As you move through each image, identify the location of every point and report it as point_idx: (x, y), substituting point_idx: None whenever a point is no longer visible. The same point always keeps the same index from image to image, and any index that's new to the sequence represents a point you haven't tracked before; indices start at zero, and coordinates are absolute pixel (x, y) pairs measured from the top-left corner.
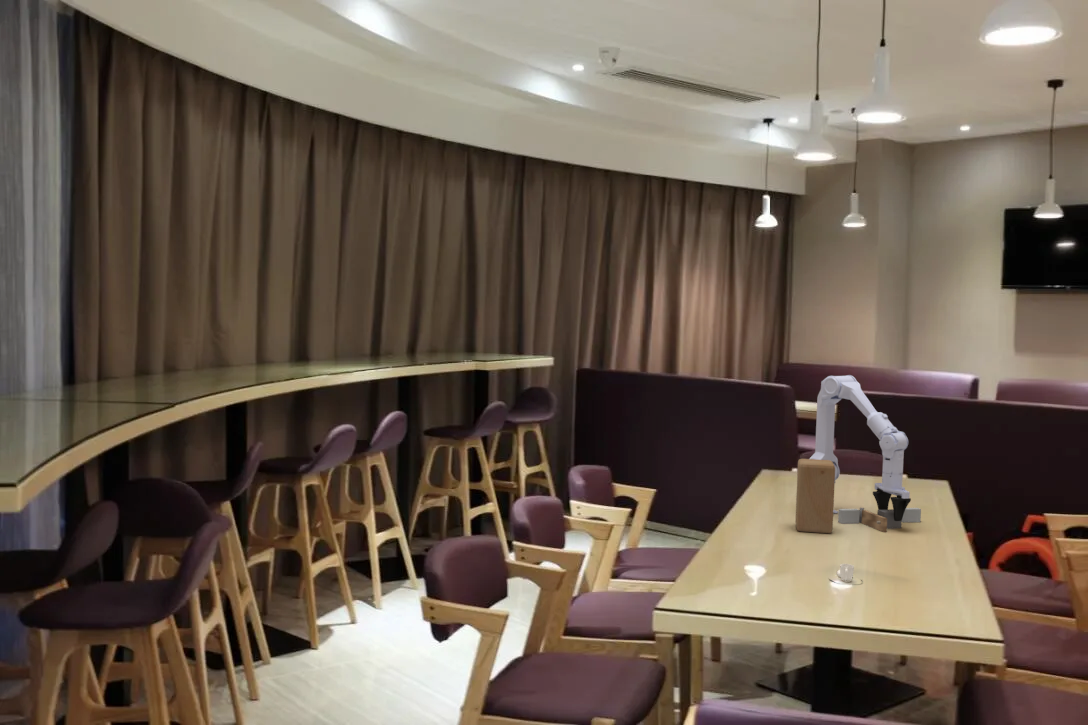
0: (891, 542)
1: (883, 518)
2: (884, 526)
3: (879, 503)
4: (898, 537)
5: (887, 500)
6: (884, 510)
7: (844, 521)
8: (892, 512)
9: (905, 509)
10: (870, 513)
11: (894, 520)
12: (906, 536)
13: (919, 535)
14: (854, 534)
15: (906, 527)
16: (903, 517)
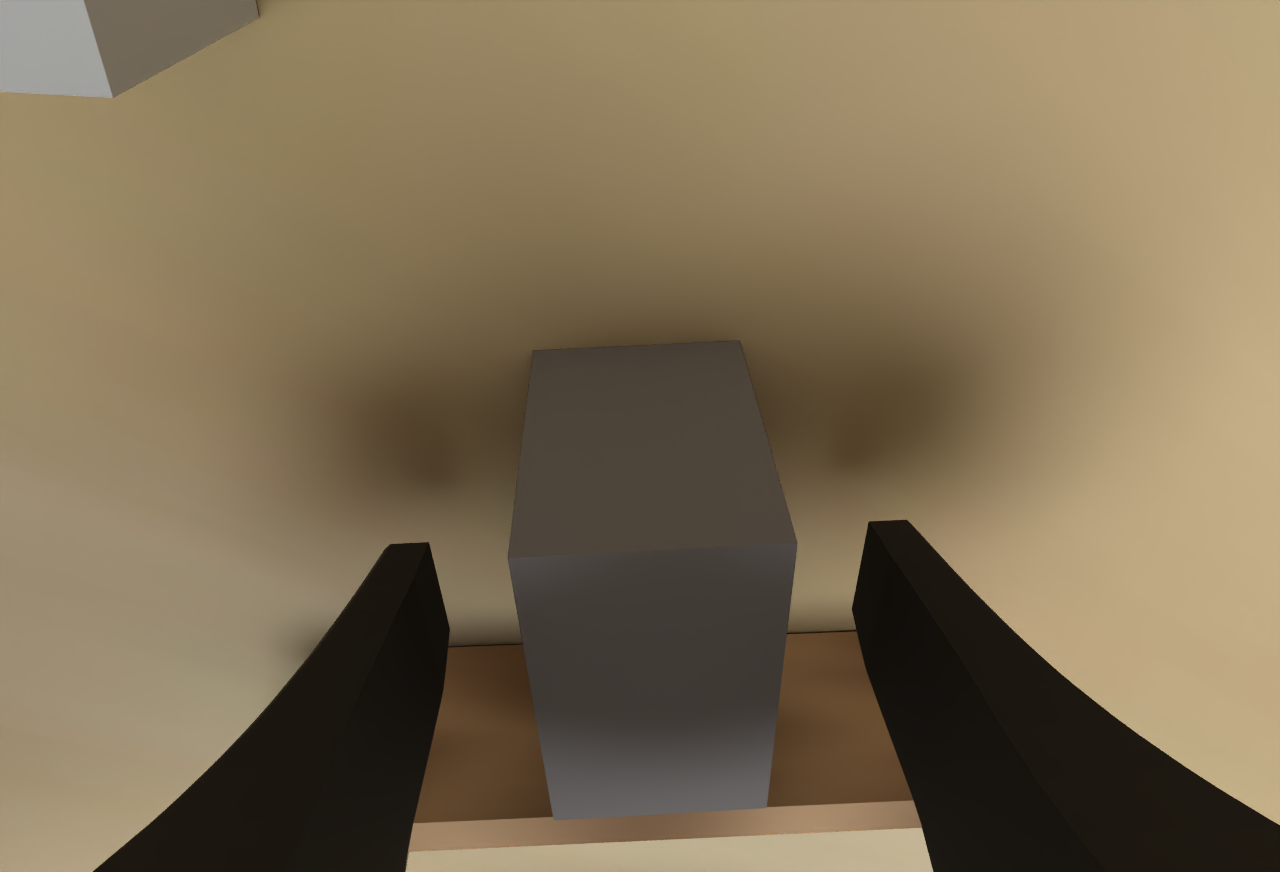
0: (1268, 758)
1: None
2: None
3: (404, 866)
4: (1166, 630)
5: (338, 819)
6: (614, 759)
7: None
8: (775, 700)
9: (89, 20)
10: (576, 839)
11: (857, 611)
12: (1187, 533)
13: (1262, 341)
14: (865, 869)
15: (714, 222)
16: (217, 36)
